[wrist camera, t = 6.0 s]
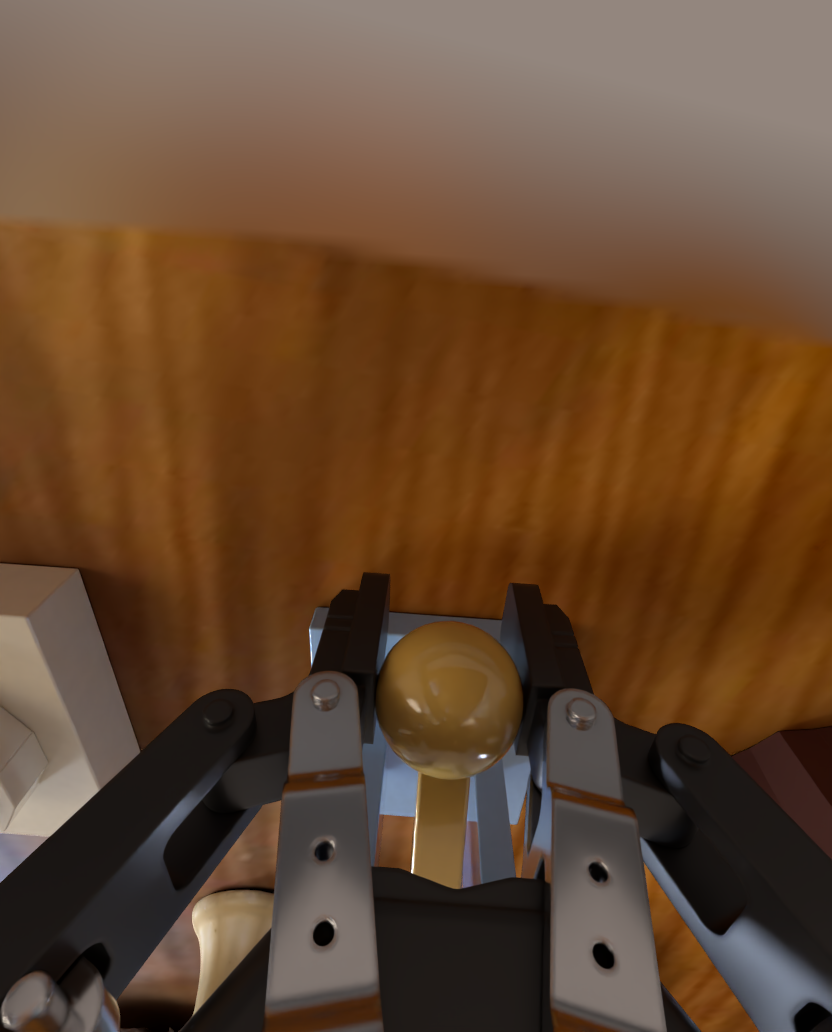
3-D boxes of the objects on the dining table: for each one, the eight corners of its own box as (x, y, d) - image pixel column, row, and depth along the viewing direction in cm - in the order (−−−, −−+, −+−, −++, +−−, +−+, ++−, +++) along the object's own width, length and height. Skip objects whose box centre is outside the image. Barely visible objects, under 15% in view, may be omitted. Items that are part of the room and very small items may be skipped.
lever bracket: (315, 605, 19) (130, 1166, 7) (560, 623, 19) (739, 1216, 7) (325, 785, 24) (226, 1263, 13) (514, 799, 24) (578, 1293, 13)
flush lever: (384, 600, 12) (372, 644, 9) (515, 609, 12) (547, 656, 9) (354, 1078, 13) (333, 1264, 10) (474, 1087, 13) (489, 1277, 10)
